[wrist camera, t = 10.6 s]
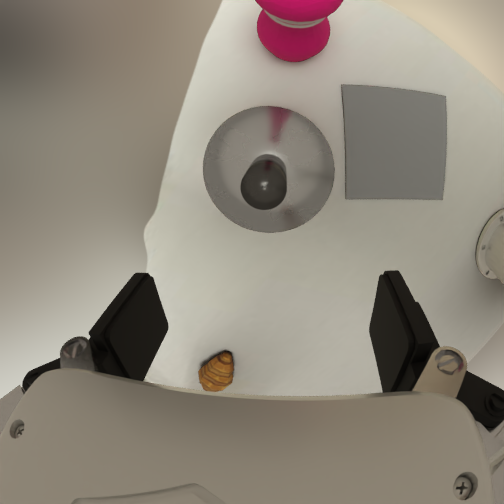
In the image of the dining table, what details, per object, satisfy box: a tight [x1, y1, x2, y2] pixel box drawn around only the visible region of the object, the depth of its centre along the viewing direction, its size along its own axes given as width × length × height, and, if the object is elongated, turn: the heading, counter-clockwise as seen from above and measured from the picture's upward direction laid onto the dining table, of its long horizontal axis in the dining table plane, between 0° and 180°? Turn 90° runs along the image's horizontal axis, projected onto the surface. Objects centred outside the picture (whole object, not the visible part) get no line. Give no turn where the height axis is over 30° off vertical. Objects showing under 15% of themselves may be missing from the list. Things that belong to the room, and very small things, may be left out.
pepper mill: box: [255, 0, 343, 62], centre depth 16 cm, size 7×7×20 cm
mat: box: [341, 85, 447, 200], centre depth 29 cm, size 14×14×1 cm
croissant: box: [198, 351, 234, 392], centre depth 50 cm, size 14×7×5 cm, turn 158°
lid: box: [203, 106, 335, 233], centre depth 25 cm, size 13×13×7 cm
